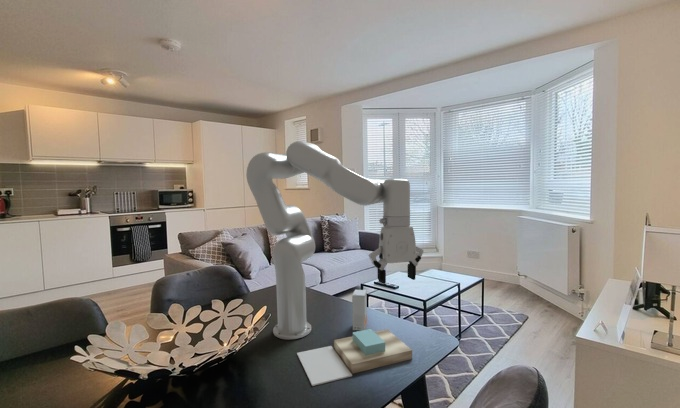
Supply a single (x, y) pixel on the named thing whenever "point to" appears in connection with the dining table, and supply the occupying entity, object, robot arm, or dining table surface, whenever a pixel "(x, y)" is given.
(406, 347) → the beige brown rectangular slab
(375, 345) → the tile
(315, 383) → the mat
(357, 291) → the skincare box
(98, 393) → the dining table surface
